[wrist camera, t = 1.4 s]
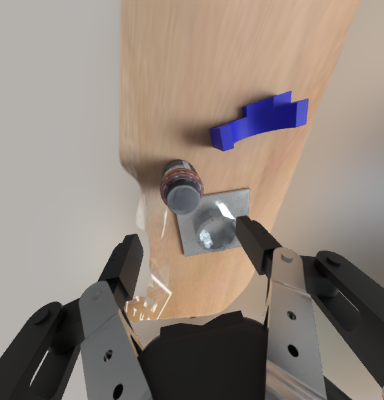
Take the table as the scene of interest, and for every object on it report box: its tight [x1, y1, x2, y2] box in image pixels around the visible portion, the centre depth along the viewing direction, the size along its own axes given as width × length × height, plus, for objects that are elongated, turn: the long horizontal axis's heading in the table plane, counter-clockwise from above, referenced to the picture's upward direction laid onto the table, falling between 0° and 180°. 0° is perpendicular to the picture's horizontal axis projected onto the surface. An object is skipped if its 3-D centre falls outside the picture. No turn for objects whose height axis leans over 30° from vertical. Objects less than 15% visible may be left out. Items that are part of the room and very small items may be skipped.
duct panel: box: [177, 188, 251, 257], centre depth 31 cm, size 16×16×4 cm
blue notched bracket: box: [210, 91, 309, 151], centre depth 21 cm, size 12×4×6 cm, turn 107°
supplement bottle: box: [160, 160, 204, 215], centre depth 21 cm, size 6×6×11 cm
